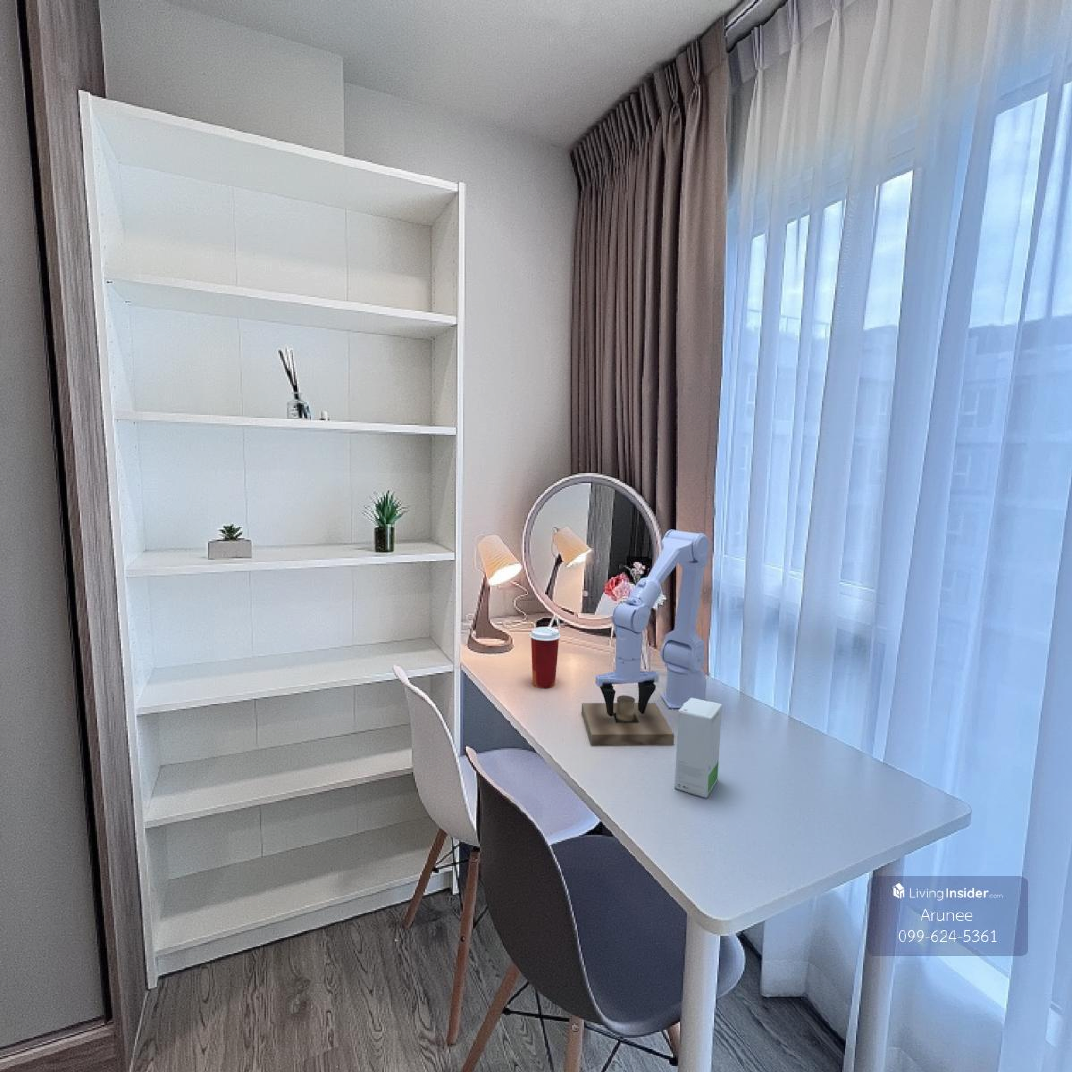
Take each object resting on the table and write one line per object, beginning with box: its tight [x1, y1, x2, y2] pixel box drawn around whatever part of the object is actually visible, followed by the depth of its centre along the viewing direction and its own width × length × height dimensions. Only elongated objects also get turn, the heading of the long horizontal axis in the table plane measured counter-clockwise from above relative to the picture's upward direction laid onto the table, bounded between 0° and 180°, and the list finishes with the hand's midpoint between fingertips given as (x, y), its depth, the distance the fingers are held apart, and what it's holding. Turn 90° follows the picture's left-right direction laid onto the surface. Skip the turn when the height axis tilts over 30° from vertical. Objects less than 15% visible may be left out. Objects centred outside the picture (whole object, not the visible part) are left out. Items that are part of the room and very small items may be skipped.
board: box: [581, 702, 675, 747], centre depth 136 cm, size 18×16×2 cm
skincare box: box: [674, 698, 723, 799], centre depth 113 cm, size 8×7×16 cm
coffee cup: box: [529, 626, 561, 689], centre depth 160 cm, size 8×8×15 cm
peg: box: [616, 694, 636, 723], centre depth 136 cm, size 4×4×7 cm
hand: (625, 713), depth 135 cm, fingers open, 7 cm apart
